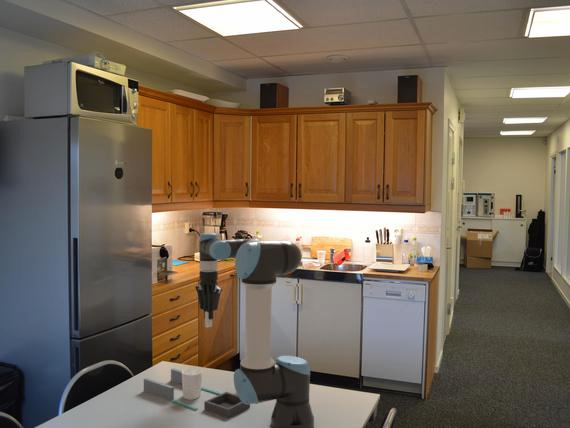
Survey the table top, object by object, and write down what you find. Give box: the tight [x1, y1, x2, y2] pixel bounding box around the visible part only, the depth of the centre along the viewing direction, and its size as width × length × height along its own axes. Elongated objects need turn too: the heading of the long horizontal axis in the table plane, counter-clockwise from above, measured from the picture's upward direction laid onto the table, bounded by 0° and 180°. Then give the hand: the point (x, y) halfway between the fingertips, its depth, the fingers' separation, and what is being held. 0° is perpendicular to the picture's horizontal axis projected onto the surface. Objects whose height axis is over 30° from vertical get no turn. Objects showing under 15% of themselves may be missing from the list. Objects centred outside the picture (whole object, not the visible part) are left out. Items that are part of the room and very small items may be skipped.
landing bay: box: [171, 386, 222, 411], centre depth 206 cm, size 13×17×1 cm
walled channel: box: [143, 367, 183, 402], centre depth 215 cm, size 16×16×5 cm
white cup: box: [181, 367, 203, 400], centre depth 208 cm, size 8×8×10 cm
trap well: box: [203, 391, 251, 419], centre depth 198 cm, size 12×12×3 cm
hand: (208, 326), depth 220 cm, fingers closed
